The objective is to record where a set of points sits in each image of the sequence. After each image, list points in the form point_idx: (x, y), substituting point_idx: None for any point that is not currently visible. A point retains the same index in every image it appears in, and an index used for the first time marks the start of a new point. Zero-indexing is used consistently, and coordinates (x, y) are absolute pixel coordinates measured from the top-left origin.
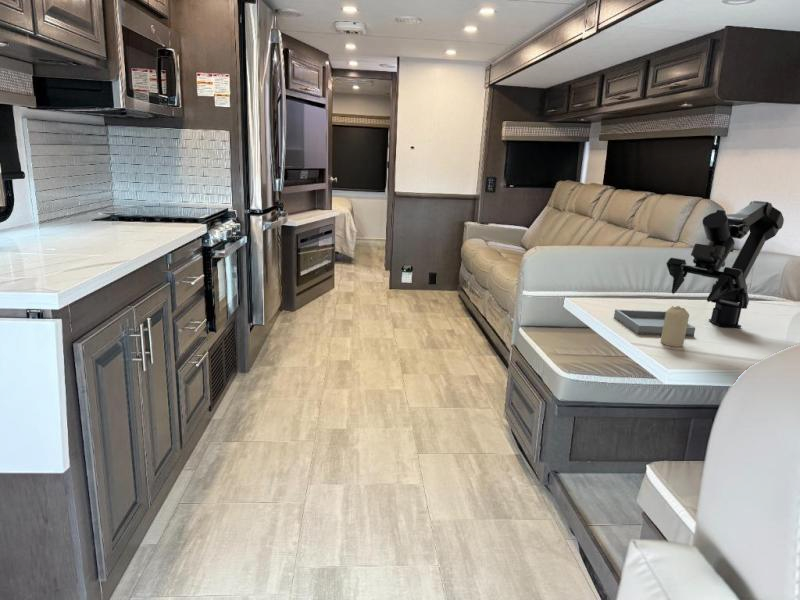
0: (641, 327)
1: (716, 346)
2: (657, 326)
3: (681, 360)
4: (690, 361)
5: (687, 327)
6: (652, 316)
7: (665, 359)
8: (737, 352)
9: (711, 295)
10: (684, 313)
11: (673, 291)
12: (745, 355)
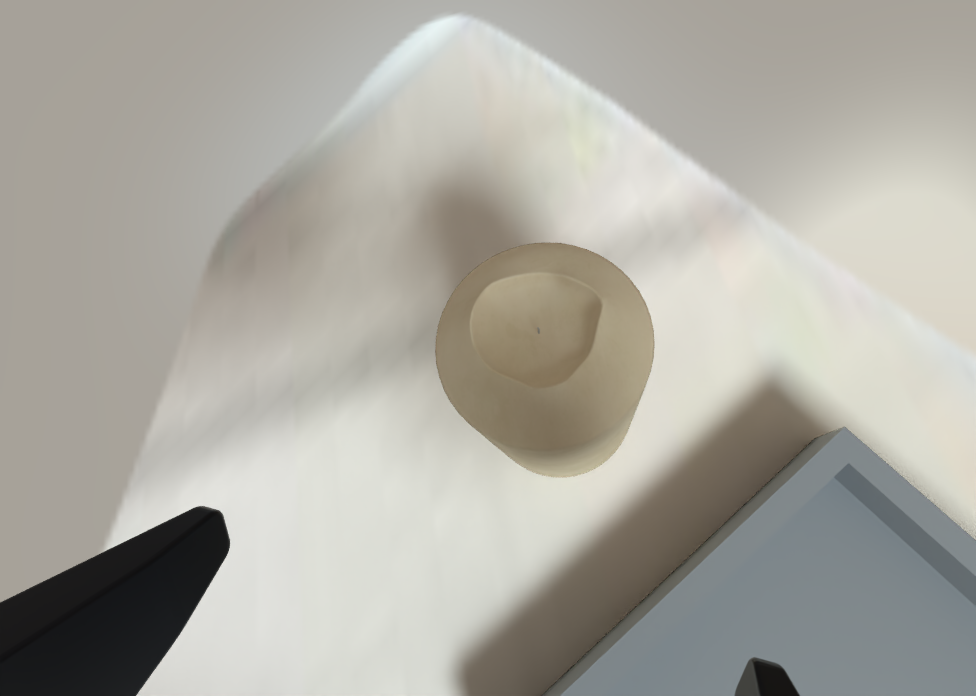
0: (821, 443)
1: (318, 591)
2: (727, 539)
3: (445, 158)
4: (407, 179)
5: None
6: None
7: (509, 111)
8: None
9: (126, 545)
10: (465, 287)
11: (751, 672)
12: None
